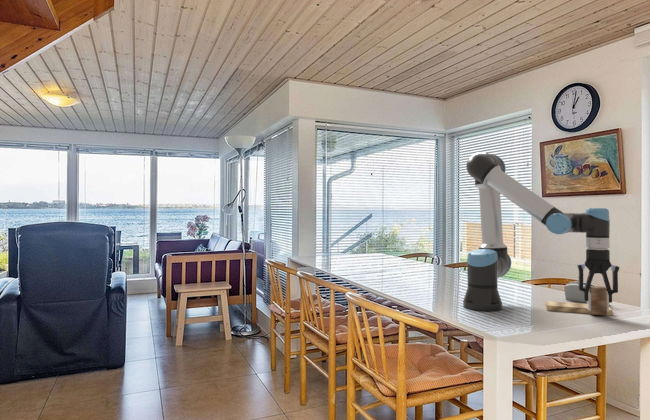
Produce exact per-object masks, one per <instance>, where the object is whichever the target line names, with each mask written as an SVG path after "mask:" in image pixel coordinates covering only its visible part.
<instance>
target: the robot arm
mask: <svg viewBox="0 0 650 420" xmlns="http://www.w3.org/2000/svg"><path fill="white" fill-rule="evenodd" d="M465 167H466V171H467V173H468V175H469V176H470V177H471V178H472V179H473V180H474V186H475V187H476V188H477V189H478V192H479V193H478V194H479V195H478V196H479V211H480V214H479V215H480V228H481V229H480V231H481V244H480V245H479V246H478V249H473V250H470V251H469V252H467V258H466V263H467V264H466V265H467V267H466V269H467V270H466V271H467V276H466V277H467V289H466V292H465V294H464V296H463V302H462V306H463V308H466V309H469V310H473V311H483V312H495V311H497V312H498V311H501V310H503V301H502V299H501V295H500V293H499V290H498V278H500V277H503V276H506V274H507V273H509V272H510V269H511V267H512V260H511V259H512V258H511V256H510V254H508V245H506V244H505V243H504V236H503V235H504V234H503V219H502V201H501V195H502V196H504V198H506V199H508V200H509V201H510V202H512V203H513V204H515V205H516V206H518V207H519V208H520V209H522V210H523V211H525V212H526V213H527V214H529V215H530V216H532V218H534V219H535V220H537V221H538V222H540V223H541V224H543V225H544V226H545V227H546V228H547V230H548V231H549V232H550V233H552V234H555V235H564V234H567V233H581V234H582V233H585V248H586V250H585V261H584V263H580V264H579V263H578V264H577V265H576V266H577V270H578V281H579V290H580V291H583V292H584V300H585V301H587V303H586V304H587V309H588V310H590V311H591V293H590V292H589V289H590V285H591V284H592V282H593V278H594V276H595V274H600V275H601V276H602V279H603V283H604V285H605V286H604V287H606V288H607V312H609V307H610V305H609V304H610V303H613V294H616V293H617V294H618V293H619V278H618V277H619V276H618V275H619V274H618V273H619V270H620V266H618V265H614V264H612V263H611V261H610V259H611V258H610V255H611V254H610V251H611V250H610V248H611V247H610V223H611V222H610V211H609V209H608V208H607V207H587V208H586V209H585V212H581V213H579V212H577V213H575V212H574V213H573V212H563V211H562V210H560V209H559V208H557V207H555V205H553V204H551V203H550V202H548V201H547V200H545V199H544V198H543V197H541V196H539V195H538V194H536V193H535V192H533V191H532V190H531V189H529V188H528V187H526V186H525V185H523V184H522V183H521V182H519V181H517V180H516V179H515V178H513V177H512V176H511V175H509V174H508V173H506V163H505V162H504V160H503V159H502V158H501V157H500V156H499V155H496V154H493V153H487V152H483V151H479V152H475V153H473V154H472V155H470V156H469V158H468V160H467V162H466V165H465ZM585 267H586V268H587V270H589V271H588V275H587V279H586V281H585V282H586V285H585V288H583V282H584V270H585ZM609 269H611V272H612V273H611V274H612V287H611V284H610V281H609V277H608V273H607V272H608V270H609Z"/></svg>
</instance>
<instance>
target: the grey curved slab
mask: <svg viewBox="0 0 650 420" xmlns="http://www.w3.org/2000/svg"><path fill="white" fill-rule="evenodd" d="M585 285H586V281H583V288H585ZM590 286H598V284H597V285H596V284H594V283H591V285H590ZM563 288H564V298H565V300H569V301H575V302H577V303H583V302H584V303H583V304H587V301H585V300H584V292H583V291H580V290H579V280H578V281H571V282H568V283H566V284H565V285H564V287H563ZM609 306H610V303H609Z"/></svg>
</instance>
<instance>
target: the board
mask: <svg viewBox="0 0 650 420" xmlns="http://www.w3.org/2000/svg"><path fill="white" fill-rule="evenodd" d="M544 306H545V309H546V311H551V312H552V311H553V312H564V313H577V314H588V315H589V314H590V315H592V314H591V313H590V312H589V310H588V309H587V303H583V302H567V301H549V300H545V301H544ZM606 316H613V309H612V308H611V307H610V306H609V312H607V315H606Z"/></svg>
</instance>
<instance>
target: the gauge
mask: <svg viewBox="0 0 650 420" xmlns="http://www.w3.org/2000/svg"><path fill="white" fill-rule="evenodd" d="M589 292H590V293H591V311H590V310H589V312H590V313H591V314H590V315H595V316H596V315H598V316H608V315H607V288H606V286H599V285H597V286H590V289H589Z"/></svg>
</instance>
